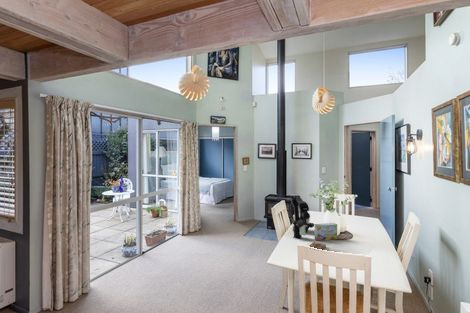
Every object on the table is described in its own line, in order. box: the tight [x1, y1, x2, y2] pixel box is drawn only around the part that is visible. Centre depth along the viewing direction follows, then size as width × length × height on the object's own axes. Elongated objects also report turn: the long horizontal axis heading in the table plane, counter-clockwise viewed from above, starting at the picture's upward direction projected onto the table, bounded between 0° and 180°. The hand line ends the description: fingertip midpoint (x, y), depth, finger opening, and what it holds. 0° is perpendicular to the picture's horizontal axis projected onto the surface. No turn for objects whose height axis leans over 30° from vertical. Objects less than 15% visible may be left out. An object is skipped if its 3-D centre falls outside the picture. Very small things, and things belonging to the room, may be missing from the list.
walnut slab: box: [308, 241, 327, 251], centre depth 224 cm, size 11×11×3 cm
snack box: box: [314, 222, 338, 242], centre depth 244 cm, size 21×6×15 cm, turn 101°
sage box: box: [300, 226, 308, 236], centre depth 231 cm, size 5×5×7 cm
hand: (303, 233), depth 231 cm, fingers closed on sage box, 5 cm apart
